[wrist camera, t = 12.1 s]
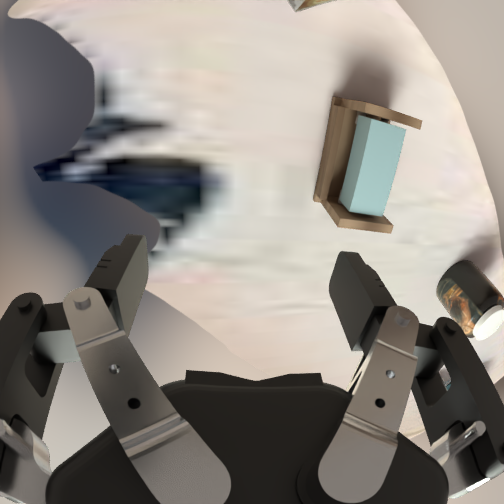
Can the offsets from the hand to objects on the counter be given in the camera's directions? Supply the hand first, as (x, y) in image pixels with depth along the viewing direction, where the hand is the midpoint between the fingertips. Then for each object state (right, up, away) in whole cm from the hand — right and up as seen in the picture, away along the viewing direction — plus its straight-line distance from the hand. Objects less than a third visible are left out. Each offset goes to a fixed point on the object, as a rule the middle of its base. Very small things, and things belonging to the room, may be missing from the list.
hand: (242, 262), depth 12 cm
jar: (+46, -6, +42) cm, 63 cm away
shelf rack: (+15, +15, +27) cm, 35 cm away
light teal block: (+16, +12, +24) cm, 31 cm away
